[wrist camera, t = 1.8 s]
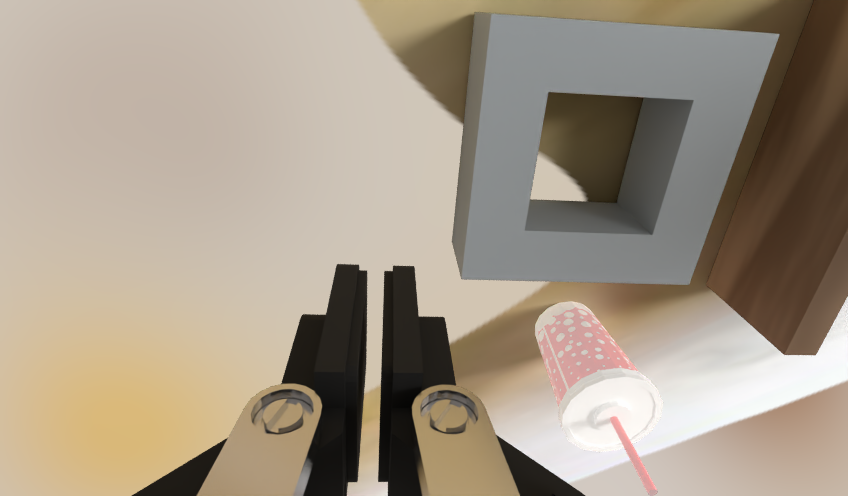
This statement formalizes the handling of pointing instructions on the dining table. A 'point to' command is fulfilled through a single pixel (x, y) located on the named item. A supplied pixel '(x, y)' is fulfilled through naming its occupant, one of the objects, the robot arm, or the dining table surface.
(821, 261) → the walnut wall
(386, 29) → the dining table surface
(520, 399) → the dining table surface
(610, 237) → the socket block
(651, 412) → the beverage cup
